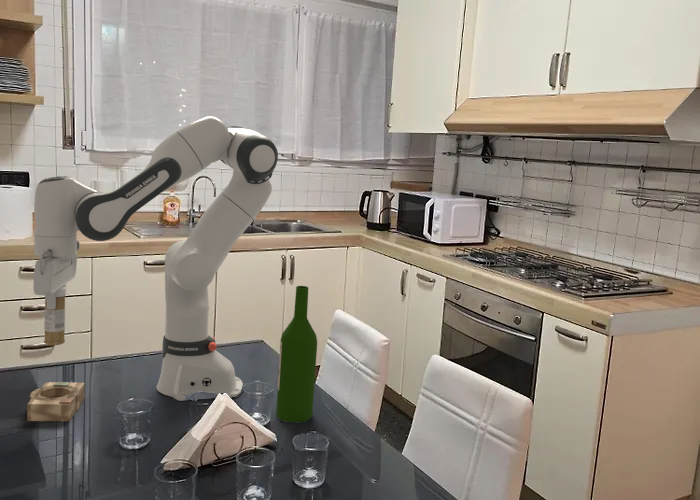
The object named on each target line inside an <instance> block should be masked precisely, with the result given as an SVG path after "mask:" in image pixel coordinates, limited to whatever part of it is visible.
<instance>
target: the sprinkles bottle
mask: <svg viewBox="0 0 700 500" xmlns="http://www.w3.org/2000/svg"><path fill="white" fill-rule="evenodd" d="M66 295H67V287H66V288H65V287H64V286H62V287H61V288H59V289H58V290H57V291H56V295H55V297H56V301H57V307H56V308H55V309H47V302H46V299H45V298H44V340H43V343H44V344H45V345H47V346H59V345H63V344H65V342H66V340H65V334H66V333H65V330H66Z"/></svg>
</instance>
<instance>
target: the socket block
mask: <svg viewBox="0 0 700 500" xmlns="http://www.w3.org/2000/svg"><path fill="white" fill-rule="evenodd" d="M85 385H86V384H85V382H69V381H56V382H55V381H45V383H44V384H43V385H42V387H40V388H36V389H34V390H33V391H32V392H31V393H30V395H29V401H28V403H27V404H26V405H27V406H26V407H27V408H26V409H27V410H26V411H27V413H26V415H27V417H26V418H27V422H70V421H71V419H72V418H73V416H74V415H75V414H76V413H77V411H78V410H79V409H80V406H81V404H82V403H83V402H84V400H85V395H86V394H85V393H86V392H85V391H86V390H85V389H86V388H85V387H86V386H85Z"/></svg>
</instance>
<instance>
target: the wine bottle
mask: <svg viewBox="0 0 700 500" xmlns="http://www.w3.org/2000/svg"><path fill="white" fill-rule="evenodd" d="M309 289H310V288H309V286H306V285H297V286H296V287H295V297H294V298H295V301H294V313H293V317H292V320H290V322H289V323H288V325H287V326H286V328H285V329H284V330H283V332H282V333H281V337H280V343H279V356H278V357H279V358H278V359H279V360H278V371H277V372H278V375H277V377H278V378H277V390H276V391H277V395H276V409H275V411H276V413H275V415H276V417H278V418H280V419H281V420H284V421H287V422H303V423H305V422H304V421H307V420H309V419H310V418H311V419H312V418H313V411H314V410H313V409H314V400H315V399H314V395H315V382H316V381H315V380H316V367H317V355H318V352H317V351H318V338H317V337H318V336H317V334H316V332H315V329H313V327H312V324H311V323H310V320H308V304H309V303H308V301H309ZM278 418H277V419H278ZM280 419H279V420H280ZM311 419H310V420H311ZM281 420H280V421H281ZM310 420H309V421H310ZM284 421H283V422H284ZM287 422H286V423H287ZM307 422H308V421H307Z"/></svg>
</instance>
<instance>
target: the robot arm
mask: <svg viewBox="0 0 700 500" xmlns="http://www.w3.org/2000/svg"><path fill="white" fill-rule="evenodd" d="M276 146H277V145H275V144H274V142H273V141H272V140H271V139H270V138H269V137H267V136H265V135H262V134H261V133H260V132H258V131H256V130H252V129H248V128H244V127H241V126H237V125H234V126H233V125H232V126H227V125H226V123H224V122H223V121H222V120H221V119H219V118H217V117H215V116H211V115H210V116H208V115H207V116H205V117H202V118H199V119H198V120H195V121H192V122H190V123H189V124H187V125H185V126H183V127H182V128H180V129H178V130H176V131H175V132H173V133H172V134H170V135H169V136H168V137H166V138H165V139H164V140H163V141H162V142H161V143H159V145H157V146H156V147H155V149H154V150H153V152H152V154H151V158H150V160H149V163H148V164H147V166H146V167H145V168H144V169H143V170H142V171H141V172H139V174H137V175H136V176H134V177H133V178H131V179H130V180H128V181H126V183H124V184H123V185H121V186H120V187H118V188H117V189H115V190H113V191H111V192H108V193H104V192H102V191H98V190H96V189H93V188H91V187H88V186H86V185H84V183H81V182H79V181H78V180H76V179H75V178H74V177H73V176H69V175H63V176H62V175H60V176H59V175H58V176H52V177H47V178H44V179H42V180H41V181H39V183H37V185H36V188H35V193H34V202H33V203H34V205H33V206H34V207H33V213H34V215H33V216H34V218H35V225H36V226H35V229H34V234H33V235H34V236H33V237H34V238H33V239H34V242H33V243H34V246H33V247H34V249H33V250H34V252H33V253H34V255H35V256H37V257H40V258H39V259H37V260H36V261H35V264H34V269H33V284H32V285H33V294H35V295H37V296H44V300H45V299H46V302H47V309H55V308H56V307H57V301H56V297H55V295H56V291H57V290H58V289H59V288H61V287H62V286H64V287H65V288H66V289H67V284H68V283H70V282H71V281H72V280H73V279H74V278H75V277H76V273H77V262H78V252H79V250H80V247H81V245H80V241H79V240H78V239H77V232H78V231H79V232H80V233H81V234H82V235H83V236H84V237H86V238H87V239H89V240H92V241H96V242H105V241H110V240H112V239H114V238H115V237H117V236H118V235H119V234H120V233H121V232H122V230H123V229H124V227H125V225H127V223H128V221H129V219H131V217H132V215H134V214H135V213H136V212H137V211H139V210H140V209H142V208H143V207H144V206H146V204H148V203H150V202H151V201H153V200H154V199H155V198H156V197H158V196H159V195H161V194H162V193H163V192H165V191H168V189H170V188H172V187H174V186H176V185H178V184H181V183H183V182H185V181H187V180H189V179H190V178H192V177H194V176H195V175H197V174H199V173H201V172H202V171H203V170H205V169H206V168H207V167H209V166H210V165H211V164H213V163H215V162H218V161H220V162H222V163H224V165H227V166H228V167H229V168H231V169H232V170H233V171H232V177H231V178H230V181H229V182H228V184H227V185H226V187H225V188H224V189H223V190H222V191H221V192H220V193H219V194H218V196H217V197H216V198H215V199H214V201H212V203H211V204H210V205H209V207H208V208H207V209H206V210H205V211H204V212H203V214H202V215H201V216H200V218H199V220H198V222H197V224H196V225H195V226H194V228H193V230H192V231H191V233H190V234H189V236H188V237H187V238H186V239H182V240H179V241H176V242H174V243H173V244H172V245H171V246H169V248H168V250H167V251H166V253H165V255H164V289H165V290H164V293H165V295H164V296H165V314H164V315H165V318H164V319H165V322H164V335H163V337H162V344H161V354H162V364H161V371H160V375H159V379H158V383H157V385H156V390H157V392H158V393H161V394H163V395H165V396H168V397H171V398H173V399H174V400H175V401H176V400H177V401H181V402H182V401H185V398H186V396H187V395H188V394H191V393H195V392H198V391H204V392H207V393H216V394H219V393H227V394H228V395H229V396H230V397H231V398H230V399H232V397H235V396H237V395H239V394H240V393H241V389H242V386H243V387H244V383H243V380H241V378H239V377H237V376H236V372H235V367H234V365H233V363H232V362H231V360H229V359H228V358H226V357H225V356H224V355H222V354H221V353H220V352H219V351H217V350H216V349H217V343H216V339H215V337H214V336H210V335H209V316H210V306H209V305H210V304H209V303H210V302H209V293H208V292H209V291H208V286H209V285H210V284H211V283H212V281H213V279H214V278H215V275H216V273H217V272H218V271H219V269H220V268H221V267H222V265H223V263H224V261H225V260H226V258H227V257H228V255H229V253H230V251H231V250H232V248H233V247H234V245H235V244H236V242H237V241H238V239H239V238H240V237H241V236H242V235H243V234H244V232H245V231H246V230H247V229H248V227H249V226H250V225H251V224H252V222H254V220H255V219H256V217H258V215H259V213H260V212H261V211H262V209H263V208H264V206H265V205H266V203H267V201H268V200H269V198H270V196H271V194H272V190H273V187H272V184H271V180H270V179H271V178H272V176H273V172H274V171H275V168H276V167H277V164H278V160H279V154H278V153H279V151H278V149H277V147H276ZM241 394H242V393H241ZM241 394H240V395H241ZM240 395H239V396H240ZM237 397H238V396H237ZM235 398H236V397H235Z"/></svg>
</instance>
